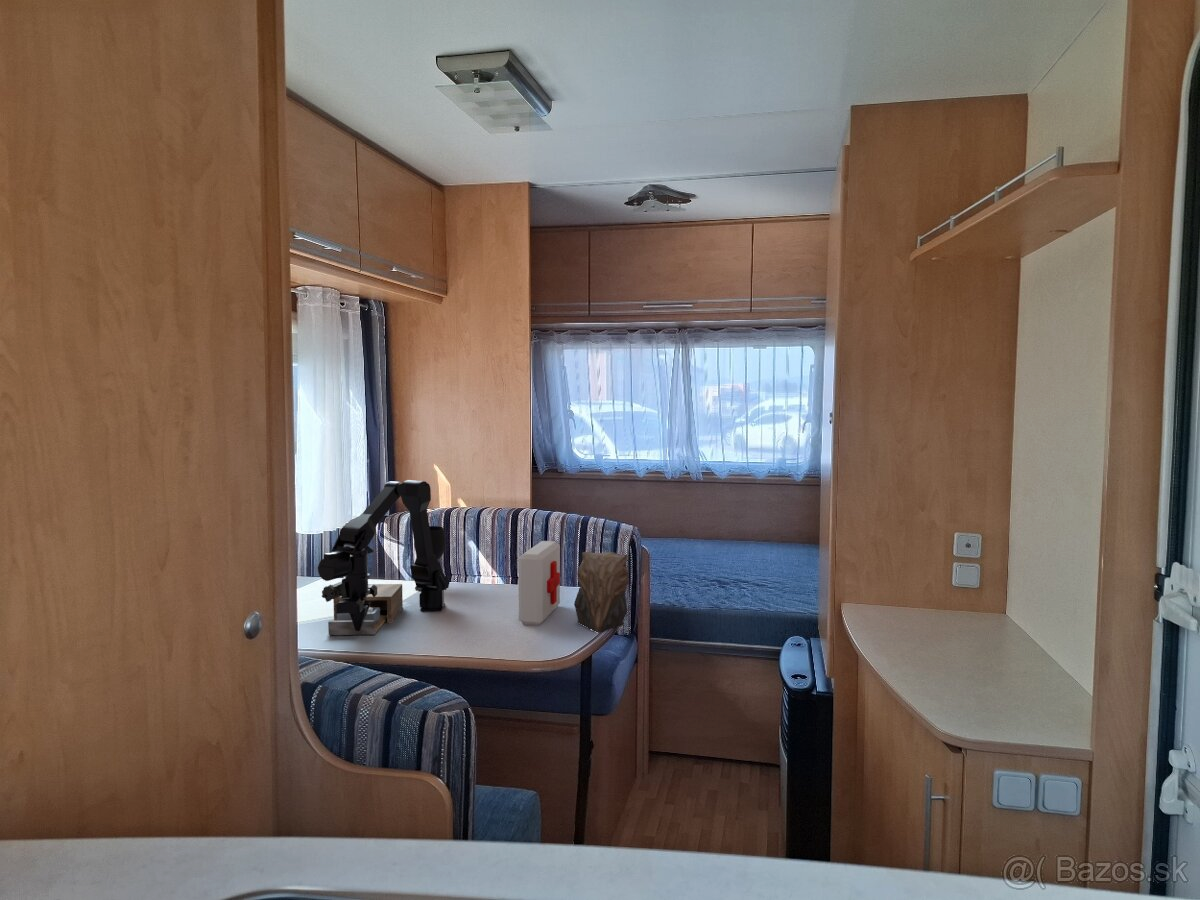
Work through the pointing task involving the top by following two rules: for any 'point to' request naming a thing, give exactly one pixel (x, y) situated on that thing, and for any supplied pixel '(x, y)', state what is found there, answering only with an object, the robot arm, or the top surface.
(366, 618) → the tray
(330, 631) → the shelf board
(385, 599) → the open wooden box
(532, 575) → the bevelled white case
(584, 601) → the owl
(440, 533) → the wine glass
